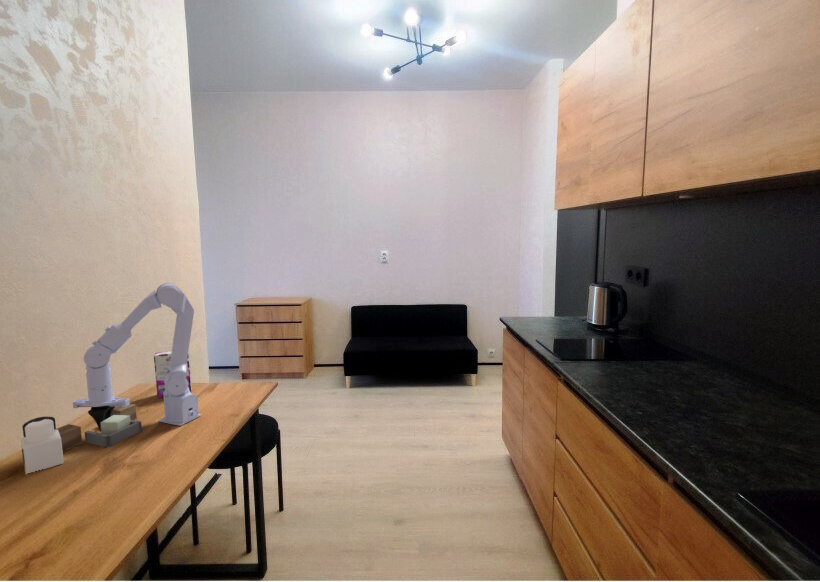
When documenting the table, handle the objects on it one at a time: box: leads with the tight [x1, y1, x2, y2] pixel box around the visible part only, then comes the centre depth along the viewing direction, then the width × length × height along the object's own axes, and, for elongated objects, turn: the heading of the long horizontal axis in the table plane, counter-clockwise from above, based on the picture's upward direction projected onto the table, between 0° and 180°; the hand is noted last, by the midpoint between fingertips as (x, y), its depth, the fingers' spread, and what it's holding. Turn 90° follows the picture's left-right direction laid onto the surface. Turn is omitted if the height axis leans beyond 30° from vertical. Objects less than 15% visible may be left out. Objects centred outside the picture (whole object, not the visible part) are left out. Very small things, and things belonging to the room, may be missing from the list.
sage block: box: [100, 415, 131, 435], centre depth 115 cm, size 5×5×5 cm
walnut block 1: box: [56, 423, 83, 452], centre depth 109 cm, size 5×5×5 cm
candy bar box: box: [153, 349, 193, 399], centre depth 147 cm, size 11×5×16 cm, turn 117°
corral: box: [83, 420, 143, 448], centre depth 114 cm, size 9×10×3 cm
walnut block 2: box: [110, 403, 138, 421], centre depth 124 cm, size 5×5×5 cm
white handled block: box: [20, 416, 65, 475], centre depth 99 cm, size 7×7×12 cm
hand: (103, 429), depth 115 cm, fingers closed
